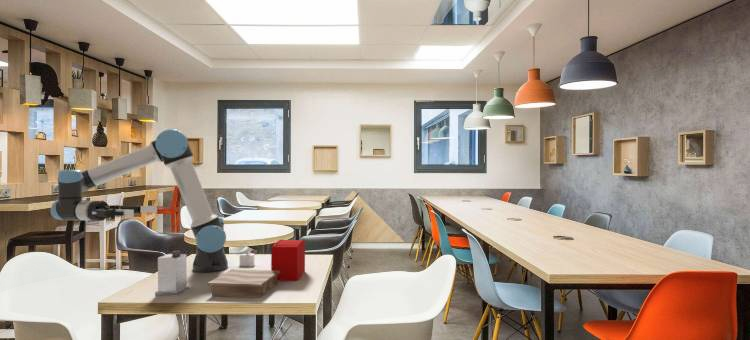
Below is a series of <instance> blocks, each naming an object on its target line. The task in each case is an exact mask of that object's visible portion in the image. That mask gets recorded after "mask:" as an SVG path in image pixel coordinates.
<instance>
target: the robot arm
mask: <svg viewBox="0 0 750 340" xmlns="http://www.w3.org/2000/svg"><path fill="white" fill-rule="evenodd" d="M193 158H194V154H193V152H192V149H191V147H190V143H189V141H188V138H187V136H186V135H185V133H184V132H182V131H181V130H179V129H176V128H170V129H169V128H168V129H165V130H162V131H161V132H160V133H159V134H158V135H157V136H156V139H154V140H152V141H150V143H149V145H147V146H144V147H142V148H139V149H136V150H133V151H132V152H129V153H127V154H124V155H122V156H119V157H117V158H113V159H112V160H110V161H106V162H104V163H102V164H98V165H96V166H94V167H91V168H89V169H86V170H84V171H82V170H80V169H61V170H60V169H59V171H58V175H57V188H58V189H57V190H58V191H57V192H58V193H57V194H58V199H57V200H56V201H54V202H53V203H52V205H51V207H50V214H51V215H50V216H52V217H53V218H54V219H55V220H58V221H59V220H60V221H65V222H66V221H85V223H88V222H89V221H94V222H95V221H97V222H102V221H104V220H107V219H109V218H110V219H111V220H115V219H116V218H134V217H135V213H141V214H157V213H158V205H144V204H143V203H141V204H140V205H111V204H110V205H109V204H108V203H107V202H106V201H104V200H83V193H84V192H87V191H89V190H91V189H93V188H96V187H98V186H101V185H103V184H105V183H107V182H110V181H113V180H114V179H117V178H120V177H122V176H125V175H127V174H129V173H130V174H131V172H134V171H136V170H139V169H142V168H144V167H147V166H149V165H151V164H154V163H157V162H159V163H163V165H164V166H165V167H166V168H169V169H170V170H171V173H172V176H173V178H174V180H175V182H176V183H175V184H176V185H177V187H178V189H179V192H180V194H181V197H182V199H183V203H184V205H185V207H186V209H187V211H188V213H189V216H190V218H191V225H190V226H189V227H190V229H191V231H192V234H193V236H194V238H195V244H196V254H195V256H194V260H193V263H192V271H193V272H197V273H211V272H218V271H223V270H225V269H227V268H228V267H229V263H228V262H229V261H228V259H227V256H226V253H225V247H224V246H225V243H226V241H227V233H226V231H225V229H224V228H225V227H224V226H225V222H224V219H223V217H219V215H217V214H215V213H213V210H212V208H211V206H210V203H209V201H208V197H207V196H206V193H205V191H204V189H203V186H202V184H201V183H202V182H201V180H200V178H199V176H198V174H197V172H196V168H195V167H194V163H193Z"/></svg>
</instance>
